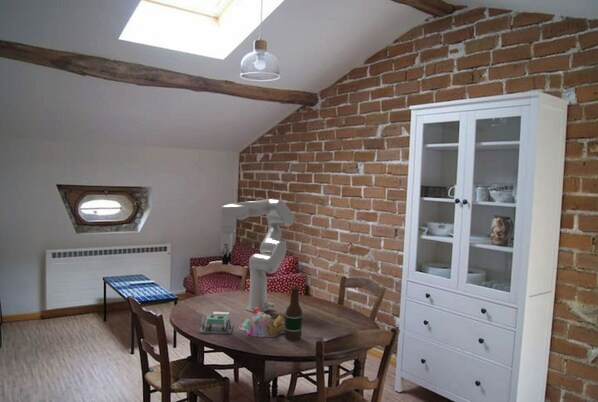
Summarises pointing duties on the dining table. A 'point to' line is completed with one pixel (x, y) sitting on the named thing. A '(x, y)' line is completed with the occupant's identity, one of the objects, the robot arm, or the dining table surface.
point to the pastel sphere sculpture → (263, 325)
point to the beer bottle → (293, 317)
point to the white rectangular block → (221, 314)
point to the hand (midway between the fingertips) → (226, 262)
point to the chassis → (216, 327)
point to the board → (216, 319)
